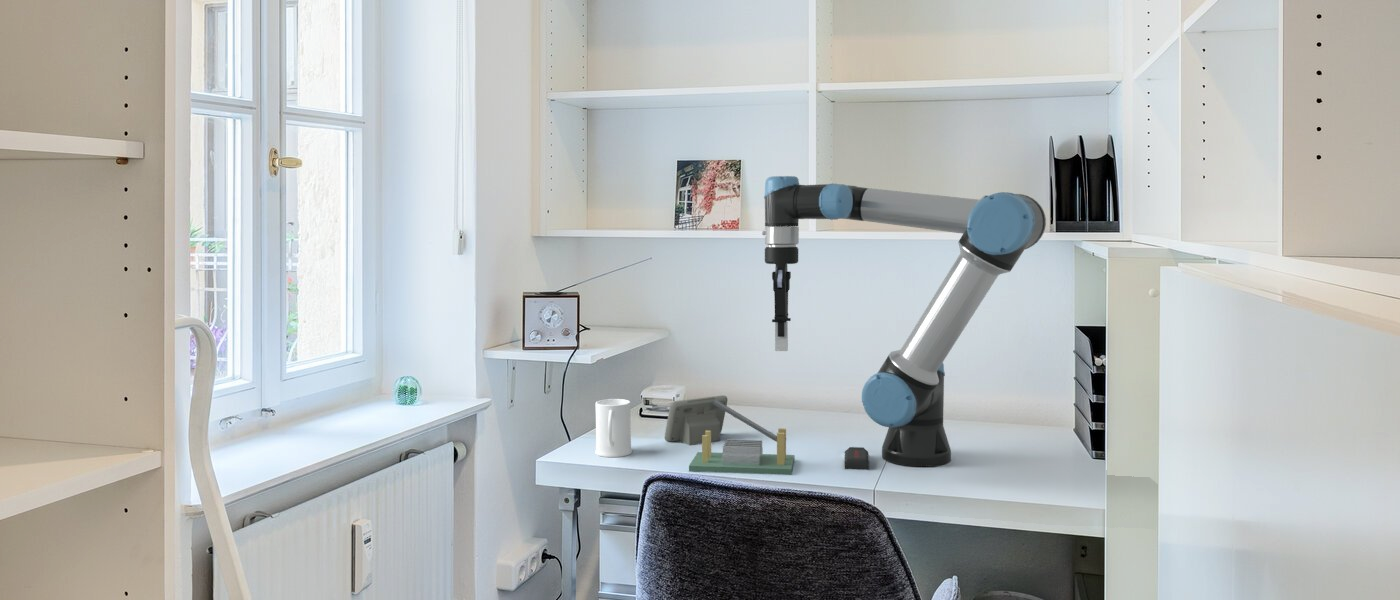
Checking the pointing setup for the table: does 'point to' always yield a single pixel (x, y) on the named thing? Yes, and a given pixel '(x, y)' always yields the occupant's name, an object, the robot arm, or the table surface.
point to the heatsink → (742, 452)
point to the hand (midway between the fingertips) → (781, 350)
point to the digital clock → (695, 419)
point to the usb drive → (856, 458)
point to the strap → (745, 420)
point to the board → (768, 465)
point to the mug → (613, 428)
